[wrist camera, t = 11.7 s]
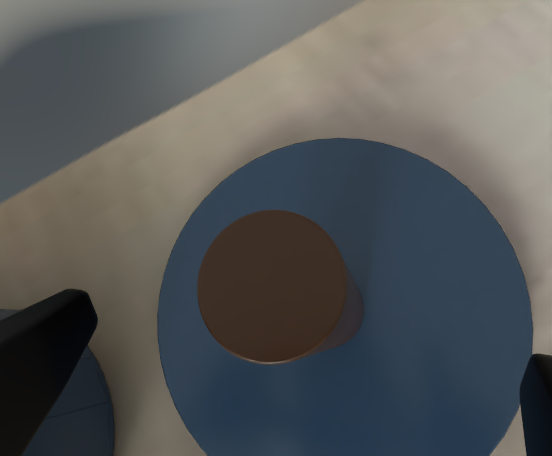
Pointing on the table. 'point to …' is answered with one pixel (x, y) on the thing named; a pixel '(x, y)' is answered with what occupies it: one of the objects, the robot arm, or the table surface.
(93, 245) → the table surface
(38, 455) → the tin
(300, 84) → the table surface
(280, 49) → the table surface
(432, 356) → the tin lid
